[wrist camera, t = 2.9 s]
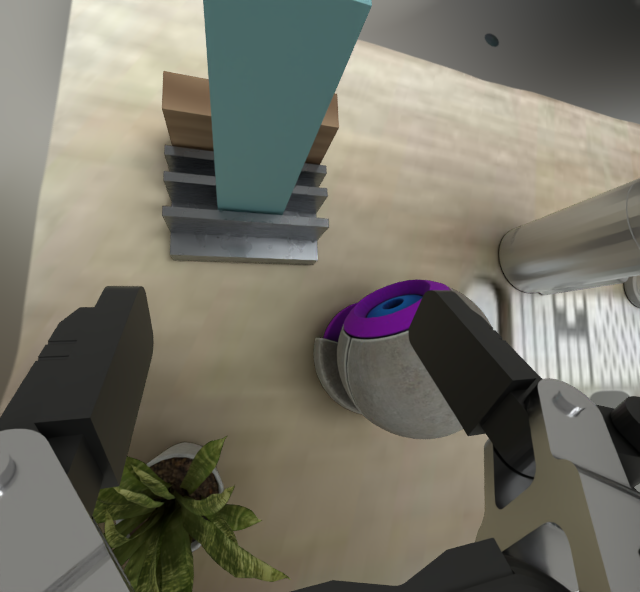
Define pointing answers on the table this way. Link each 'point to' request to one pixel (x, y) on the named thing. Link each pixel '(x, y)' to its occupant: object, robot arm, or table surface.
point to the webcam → (385, 363)
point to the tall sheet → (272, 90)
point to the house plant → (176, 520)
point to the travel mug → (633, 289)
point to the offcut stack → (196, 124)
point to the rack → (238, 216)
